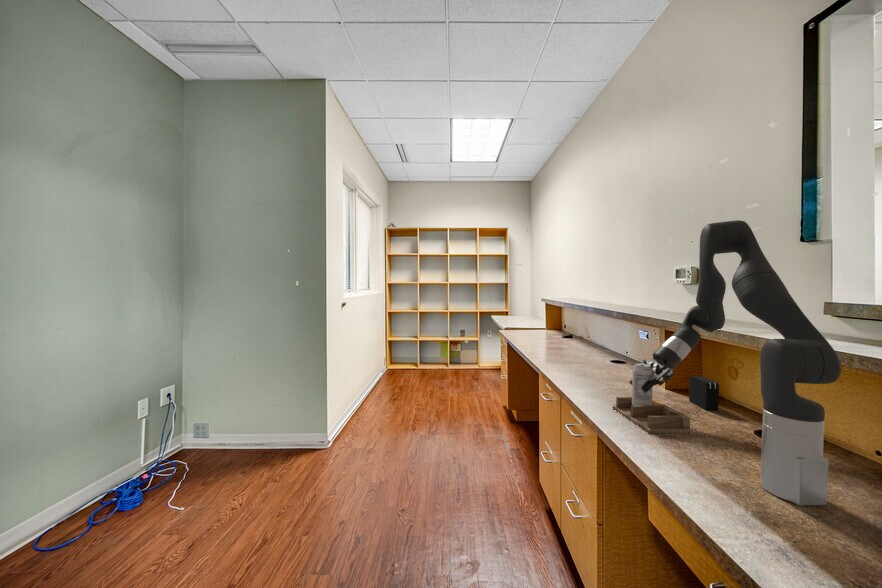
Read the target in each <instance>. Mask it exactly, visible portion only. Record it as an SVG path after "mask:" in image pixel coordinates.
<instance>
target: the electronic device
mask: <svg viewBox="0 0 882 588" xmlns="http://www.w3.org/2000/svg"><path fill="white" fill-rule="evenodd" d="M688 382H689V387H688V392H689V393H688V396H689V397H688V401H689V402H690V403H691V404H693V405H695V406H697V407H699V408H700V409H703V410H704V411H718V410H719V402H720V401H719V398H720V384H719V382H717V381H714V380H712V379H710V378H707V377H705V376H703V375H702V376H701V375H700V376H699V375H698V376H697V375H696V376H695V375H690V376H689V381H688Z"/></svg>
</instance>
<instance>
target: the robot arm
mask: <svg viewBox="0 0 882 588" xmlns="http://www.w3.org/2000/svg"><path fill="white" fill-rule="evenodd" d="M731 253H736V254H738V255H739V256H740V258H741V260H740V263H739V265H738V267H737V268H736V270H735V272H734V274H733V276H732V278H731V279H732V280H731V287H732V290H733V292H734V294H735V296H736V298H737V299H738V301H739V303H740V305H741V306H742V307H743V308H744V310H746V311H747V312H748V313H750V314H751V315H753V316H754V317H755V318H757V319H758V320H760V321H762V322H763V323H765V324H767V325H768V326H770V327H771V328H772V329H774V330H775V331H777V332H778V333H779V334H780V335H781V336H782V337H783V338H770V339H768V340H766V341H765V342H764V343H763V345H762V346H761V350H760V353H759V354H760V355H759V356H760V357H759V367H760V393H761V398H762V404H763V405H762V406H763V407H762V425H761V427H762V428H761V429H762V431H761V454H760V456H761V457H760V459H761V460H760V486H761V487H762V488H763V489H764V490H765V491H767V492H768V493H770V494H771V495H774V496H775V497H778V498H780V499H782V500H785V501H789V502H791V503H793V504H795V505H797V506H799V507H800V506H802V507H805V506H827V504H828V487H829V485H828V484H829V483H828V482H829V462H830V460H829V459H828V458H826V457H824V439H825V438H824V433H825V420H826V419H825V417H826V416H825V415H826V411H825V407H824V406H823V405H822V404H821V403H819V402H817V401H814V400H812V399H809V398H806V397H804V396H801V395H799V394H798V393H797V389H796V383H797V384H808V385H828V384H833V383H835V382H836V381H838V379H840V376H841V374H842V367H841V362H840V359H839V356H838V354H837V353H836V351H835V349H834V348H833V346H832V345H831V344H830V343H829V341H828V340H827V339H826V338H825V336H823V335H822V333H821V332H820V331H819V329H818V328H817V327H816V326H815V325H814V324H813V323H812V322H811V321H810V319H808V317H807V316H806V314H805V313H804V312H803V310H802V309H801V308H800V306H799V305H798V304H797V302H796V300H795V299H794V298H793V296H792V295H791V294H790V292H789V290H788V288H787V287H786V285H785V284H784V282H783V281H782V279H781V278H780V276H779V274H777V272H776V271H775V269H774V268H773V267H772V265H771V263H770V262H769V260H768V259H767V257H766V255H765V254H764V252H763V250H762V249H761V246H760V244H759V242H758V240H757V238H756V235H755V234H754V232H753V230H752V228H751V226H750V224H748V223H747V222H746V221H744V220H738V219H737V220H736V219H735V220H729V221H720V222H718V221H717V222H712V223H707V224H705V225H704V226H703V228H702V229H701V231H700V236H699V255H698V256H699V258H698V259H699V262H698V263H699V268H698V269H699V281H698V288H697V292H696V298H695V302H696V305H694V306H692V307H690V308H689V310H688V311H687V312H686V315H685V317H684V319H683V321H682V323H681V325H680V326H679V327H678V329H677V330H675V332H674V333H673V334H672V335H671V336H670V337H668V338H667V339H666V340H665V341H663V343H662V344H661V345H660V346H659V347H658V348H656V350H655V351H654V352H653V353H652V359H651V360H649V361H647V360H646V359H642V360H641V362H640V363H642V364H648V365H651V369H652V373H651V377H650V379H649V380H650V381H649V380H648V381H646V382H645V383H644V384H643V386H642V387H641V389H642V390H643V391H644V392H647V391H649V390H650V389H651V388H652V387H654V386H657V385H658V386H662V385H664V383H666V382H668V380H669V379H670V378H672V377H673V376H674V375H675V372H673V370H674V369H675V368H676V367H677V366H679V364H680V363H681V362H682V361H683V360H684V359H685V358H686V357H687V356H688V355H689V353H690V352H691V351H692V349H694V348H695V347H696V346H697V344H699V343H700V341H701V340H702V335H701V334H700V333H699V332H698V331H697V330H696V329H695V328H694V327H697V328H699V329H702V330H703V331H706V332H707V333H712V332H713V331H714V330H717V329H721V328H724V326H725V323H726V314H725V310H724V309H725V308H724V298H725V294H726V290H727V284H726V281H725V277H724V276H723V275H722V273H721V272H720V271H719V269H718V268H717V266H716V263H715V262H714V258H715V255H718V254H719V255H720V254H731ZM721 330H722V329H721ZM712 334H713V333H712ZM629 384H630V386H632V378H631V379H630V380H629Z"/></svg>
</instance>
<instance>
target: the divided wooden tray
mask: <svg viewBox="0 0 882 588" xmlns="http://www.w3.org/2000/svg"><path fill="white" fill-rule="evenodd" d="M615 399H616V401H615V405H612V408H613V409H614V410H613V409H612V408H611V409H612V410H613V411H615V410H616V411H617V412H616V411H615V412H616V413H618V412H619V413H620V414H619V413H618V414H619V415H621V414H622V415H623V416H622V415H621V416H622V417H624V416H625V417H626V418H625V417H624V418H625V419H627V420H628V419H629V420H628V421H630V422H631V421H632V422H631V423H633V424H634V423H635V424H634V425H636V426H637V425H638V426H637V427H639V428H640V427H641V428H642V429H641V428H640V429H641V430H643V431H644V430H645V431H644V432H646V433H647V432H648V434H665V433H666V434H670V433H671V434H672V433H673V434H674V433H675V434H676V433H683V434H684V433H690V432H691V417H690V416H687V415H686V414H684V413H682V412H680V411H678V410H676V409H673V408H672V407H670V406H668V405H666V403H664V402H661V401H660V400H657V399H655V397H652V406H633V405H632V396H616V398H615Z"/></svg>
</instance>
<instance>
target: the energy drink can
mask: <svg viewBox="0 0 882 588" xmlns="http://www.w3.org/2000/svg"><path fill="white" fill-rule="evenodd" d="M651 373H652V369H651V365H648V364H642V363H641V362H640V363H639V362H638V363H634V366H633V368H632V377H631V379H632V385H631V387H632V389H631V397H632V405H633V406H652V398H653V391H654V390H653V389H654V388H653V387H654V386H653V387H652V388H651V389H650V390H649V391H647V392H644V391H643V390H642V389H641V387H642V386H643V384H644V383H645V382H646V381H648V380H649V379H650V377H651ZM649 381H650V380H649Z"/></svg>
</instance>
